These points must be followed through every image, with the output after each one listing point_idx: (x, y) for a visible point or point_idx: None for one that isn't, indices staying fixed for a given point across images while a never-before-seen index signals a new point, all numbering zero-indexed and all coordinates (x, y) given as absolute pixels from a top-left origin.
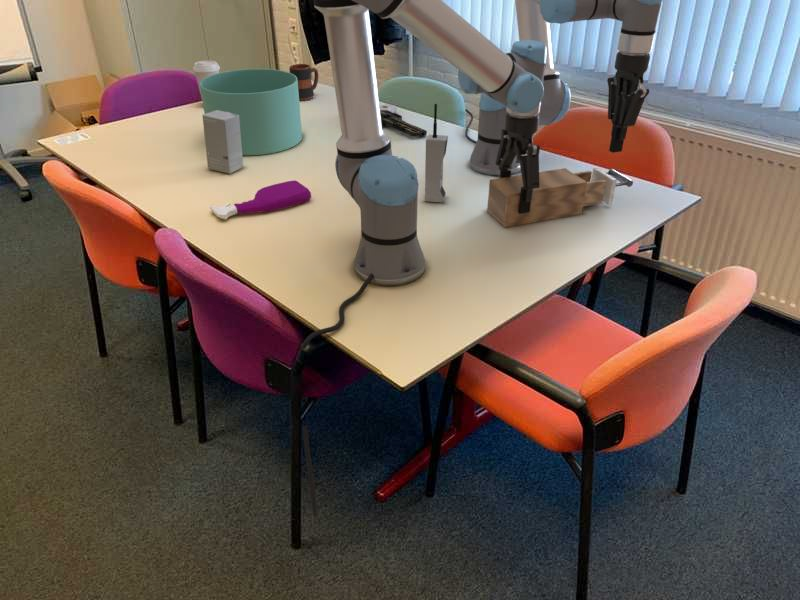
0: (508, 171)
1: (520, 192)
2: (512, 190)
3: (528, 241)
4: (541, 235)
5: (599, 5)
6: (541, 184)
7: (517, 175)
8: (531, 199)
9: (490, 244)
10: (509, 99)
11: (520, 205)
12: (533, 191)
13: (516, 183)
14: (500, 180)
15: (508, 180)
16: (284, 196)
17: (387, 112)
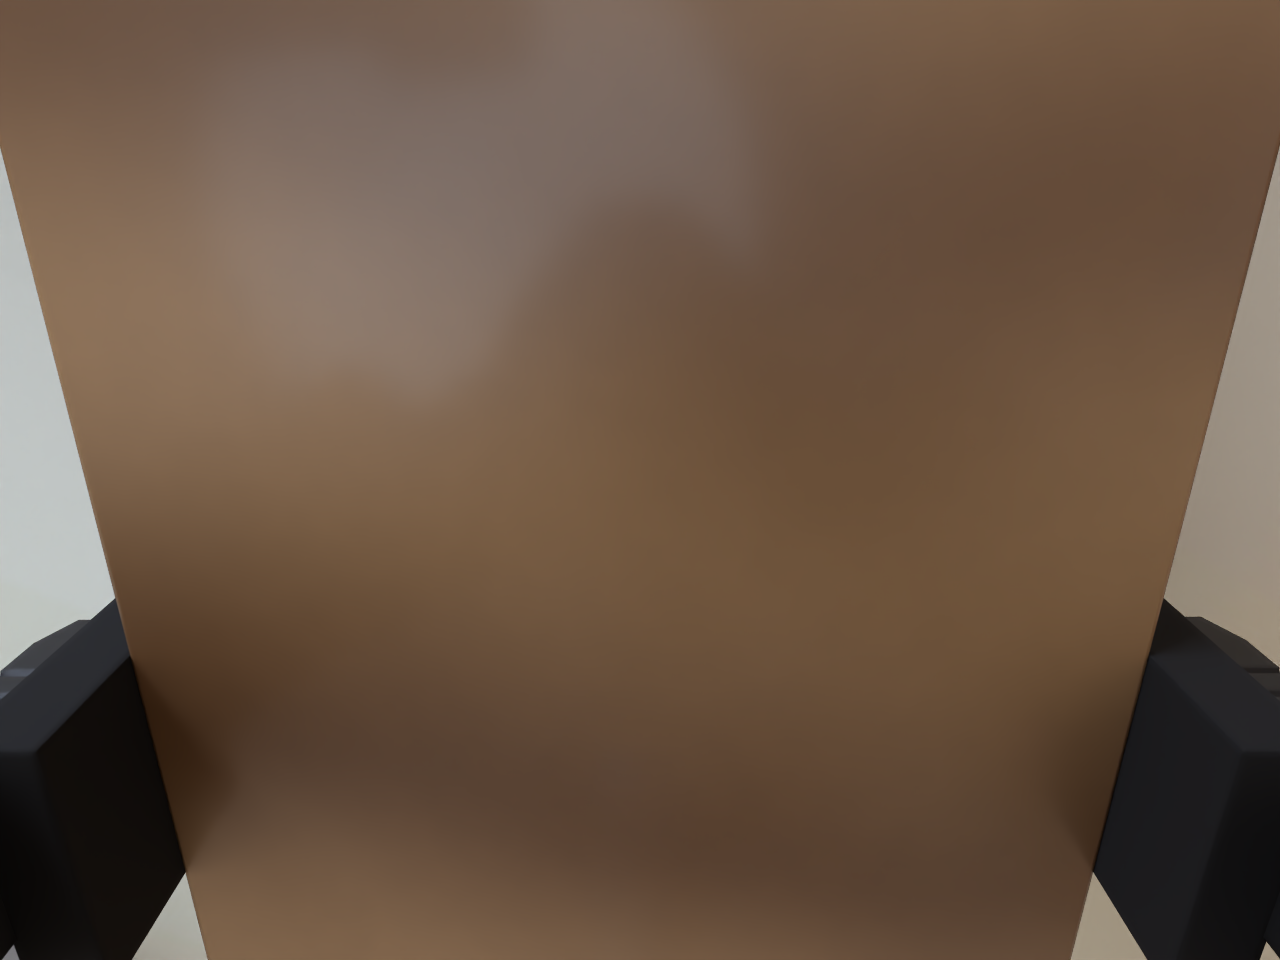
0: (50, 823)
1: (1096, 875)
2: (920, 956)
3: (1272, 593)
4: (1252, 386)
5: None
6: (944, 146)
7: (97, 480)
8: (1246, 644)
9: (1100, 915)
10: None
11: None
12: (1153, 563)
13: (605, 733)
14: (340, 943)
15: (383, 811)
16: None
17: None
